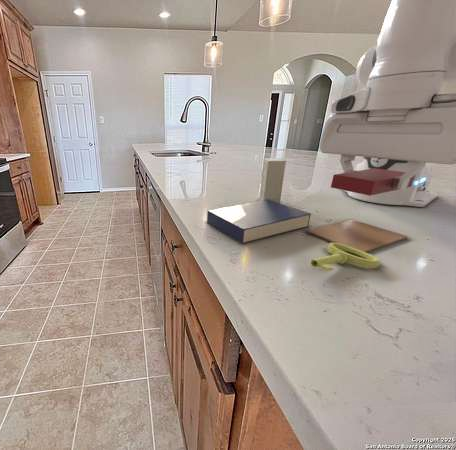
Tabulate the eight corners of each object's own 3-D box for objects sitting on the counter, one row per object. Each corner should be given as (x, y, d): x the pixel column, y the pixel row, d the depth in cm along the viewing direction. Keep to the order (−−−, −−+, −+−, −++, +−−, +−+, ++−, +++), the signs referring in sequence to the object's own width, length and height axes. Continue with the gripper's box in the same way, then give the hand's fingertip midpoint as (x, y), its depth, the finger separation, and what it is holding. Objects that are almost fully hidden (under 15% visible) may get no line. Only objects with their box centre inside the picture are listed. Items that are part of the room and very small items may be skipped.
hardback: (265, 210, 63) (267, 199, 62) (308, 226, 53) (311, 213, 52) (206, 222, 57) (207, 210, 56) (242, 243, 47) (243, 229, 46)
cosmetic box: (279, 207, 65) (287, 160, 60) (261, 206, 66) (268, 160, 61) (274, 200, 71) (280, 157, 66) (257, 200, 72) (263, 157, 67)
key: (306, 272, 37) (309, 260, 36) (330, 245, 45) (333, 235, 44) (365, 294, 32) (371, 280, 31) (381, 260, 40) (386, 248, 39)
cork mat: (350, 220, 55) (351, 219, 55) (406, 238, 46) (407, 236, 46) (306, 232, 50) (307, 230, 50) (360, 254, 42) (361, 252, 41)
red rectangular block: (370, 180, 49) (373, 168, 48) (411, 186, 44) (416, 173, 43) (330, 187, 45) (333, 174, 44) (370, 195, 39) (374, 181, 39)
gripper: (512, 89, 31) (463, 194, 36) (344, 103, 48) (327, 172, 54) (490, 88, 29) (441, 200, 34) (322, 103, 46) (307, 175, 52)
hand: (370, 183), depth 44 cm, fingers closed on red rectangular block, 6 cm apart
